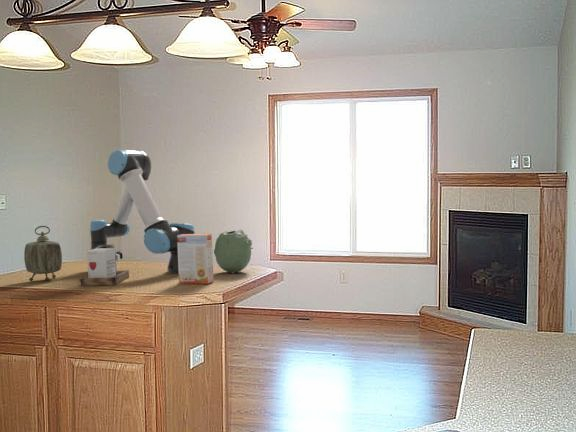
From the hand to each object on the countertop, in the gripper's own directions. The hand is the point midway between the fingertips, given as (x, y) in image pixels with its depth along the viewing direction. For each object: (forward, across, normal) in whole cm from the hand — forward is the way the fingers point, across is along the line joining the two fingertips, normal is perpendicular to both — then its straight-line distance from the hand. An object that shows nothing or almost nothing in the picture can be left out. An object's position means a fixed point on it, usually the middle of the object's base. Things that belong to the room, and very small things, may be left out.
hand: (113, 258), depth 303 cm
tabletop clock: (-17, +28, -10) cm, 34 cm away
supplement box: (+7, +7, -10) cm, 14 cm away
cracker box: (+32, -28, -10) cm, 43 cm away
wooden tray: (+3, +5, -10) cm, 11 cm away
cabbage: (+14, -52, -10) cm, 55 cm away
